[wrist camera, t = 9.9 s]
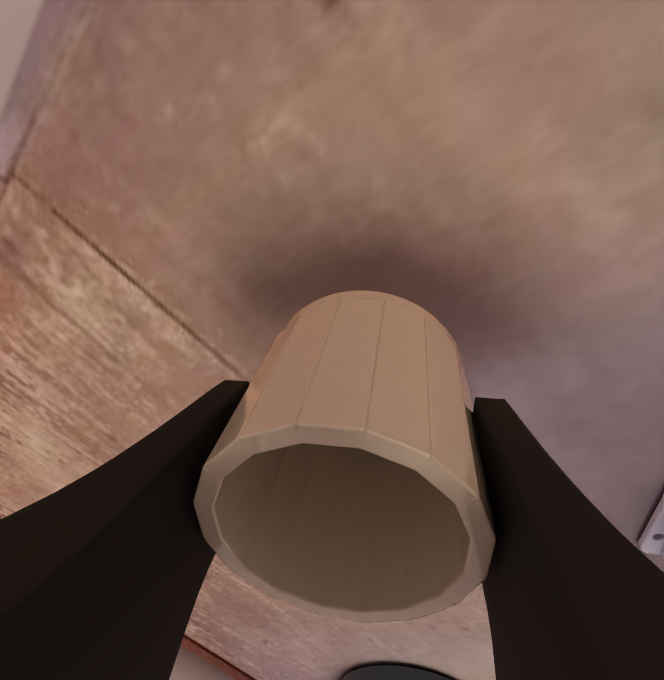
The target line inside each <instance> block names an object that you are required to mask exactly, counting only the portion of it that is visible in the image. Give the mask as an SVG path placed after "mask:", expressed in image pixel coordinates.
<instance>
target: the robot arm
mask: <svg viewBox="0 0 664 680" xmlns="http://www.w3.org/2000/svg"><path fill="white" fill-rule="evenodd" d="M248 387H249V382H247V381H232V380H224V381H223V382H221V383H220V384H218V385H217V386H215V387H214V388H213V389H211V390H210V391H208V392H207V393H206V394H204V395H203V396H202V397H200V398H199V399H197V400H196V401H195V402H193V403H192V404H191V405H189V406H188V407H187V408H185V409H184V410H183V411H181V412H180V413H178V414H177V415H176V416H174V417H173V418H172V419H170V420H169V421H167V422H166V423H165V424H163V425H162V426H160V427H159V428H158V429H156V430H155V431H153V432H152V433H150V434H149V435H147V436H146V437H144V438H143V439H141V440H140V441H138V442H137V443H135V444H134V445H132V446H131V447H129V448H128V449H126V450H125V451H123V452H122V453H120V454H119V455H117V456H116V457H114V458H113V459H111V460H110V461H108V462H107V463H105V464H103V465H102V466H100V467H98V468H97V469H95V470H93V471H92V472H90V473H88V474H87V475H85V476H83V477H81V478H80V479H78V480H76V481H74V482H73V483H71V484H69V485H67V486H65V487H64V488H62V489H60V490H58V491H56V492H55V493H53V494H51V495H49V496H47V497H45V498H43V499H41V500H39V501H37V502H35V503H33V504H31V505H29V506H27V507H25V508H23V509H21V510H19V511H17V512H15V513H13V514H11V515H9V516H7V517H5V518H3V519H1V520H0V680H169V678H170V675H171V672H172V669H173V666H174V663H175V660H176V656H177V654H178V650H179V648H180V645H181V642H182V639H183V636H184V633H185V630H186V627H187V624H188V621H189V619H190V616H191V613H192V610H193V607H194V604H195V601H196V599H197V596H198V593H199V590H200V588H201V585H202V583H203V581H204V578H205V576H206V573H207V571H208V569H209V566H210V564H211V562H212V560H213V558H214V556H215V551H214V550H213V549H212V548H211V547H210V546H209V544H208V543H207V542H206V541H205V538H203V534H202V531H201V528H200V525H199V521H198V518H197V515H196V512H195V508H194V505H193V503H194V502H193V499H194V496H195V492H196V489H197V485H198V482H199V478H200V475H201V471H202V468H203V466H204V464H205V462H206V460H207V459H208V457H209V455H210V453H211V452H212V450H213V448H214V446H215V445H216V443H217V441H218V439H219V438H220V436H221V434H222V432H223V431H224V429H225V427H226V425H227V424H228V422H229V420H230V418H231V417H232V415H233V413H234V411H235V410H236V408H237V406H238V404H239V403H240V401H241V399H242V397H243V396H244V394H245V392H246V390H247V389H248ZM473 416H474V422H475V427H476V432H477V438H478V443H479V448H480V453H481V459H482V464H483V470H484V475H485V480H486V486H487V491H488V497H489V502H490V507H491V513H492V518H493V524H494V529H495V534H496V543H495V547H494V551H493V555H492V559H491V563H490V567H489V571H488V575H487V577H486V578H485V580H484V581H483V582H482V585H483V590H484V595H485V600H486V605H487V610H488V616H489V623H490V629H491V636H492V644H493V654H494V663H495V673H496V680H664V573H663V572H662V571H661V570H660V569H659V568H658V567H657V566H656V565H655V564H654V563H652V562H651V561H650V560H649V559H648V558H647V557H646V556H645V555H644V554H643V553H642V552H641V551H643V552H644V553H648V554H655V555H661V557H662V559H663V560H664V494H663V496H662V498H661V500H660V502H659V504H658V506H657V507H656V509H655V511H654V513H653V515H652V517H651V519H650V521H649V522H648V524H647V526H646V528H645V530H644V532H643V534H642V536H641V537H640V539H639V541H638V545H639V547H640V549H641V551H640V550H638V549H637V548H636V547H635V546H634V545H633V544H632V543H631V542H630V541H629V540H628V539H627V538H626V537H624V536H623V535H622V534H621V533H620V532H619V531H618V530H617V529H616V528H615V527H614V526H613V525H612V524H611V523H610V522H609V521H608V520H607V519H606V518H605V517H604V516H603V515H602V514H601V512H600V511H599V510H598V509H597V508H596V507H595V506H594V505H593V504H592V503H591V502H590V501H589V500H588V499H587V498H586V497H585V496H584V495H583V493H582V492H581V491H580V490H579V489H578V488H577V487H576V486H575V485H574V483H573V482H572V481H571V480H570V479H569V478H568V477H567V475H566V474H565V473H564V472H563V471H562V470H561V468H560V467H559V466H558V465H557V464H556V463H555V462H554V460H553V459H552V458H551V457H550V456H549V454H548V453H547V452H546V451H545V450H544V448H543V447H542V446H541V445H540V444H539V442H538V441H537V440H536V438H535V437H534V436H533V435H532V433H531V432H530V431H529V430H528V428H527V427H526V426H525V425H524V423H523V422H522V421H521V419H520V418H519V417H518V415H517V414H516V413H515V411H514V410H513V409H512V408H511V406H510V405H509V404H508V403H507V402H506V400H505V399H494V398H479V397H475V403H474V409H473Z"/></svg>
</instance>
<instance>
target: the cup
mask: <svg viewBox="0 0 664 680" xmlns="http://www.w3.org/2000/svg"><path fill="white" fill-rule="evenodd" d="M193 502H194V503H193V505H194V508H195V512H196V515H197V518H198V521H199V525H200V528H201V531H202V534H203V538H205V541H206V542H207V543H208V544H209V546H210V547H211V548H212V549H213V550H214V551H215V553H216V554H217V555H218V556H219V557H220V558H221V560H222V561H223V562H224V563H225V564H226V565H227V567H228V568H229V569H230V570H232V571H233V573H235V574H236V575H238V576H239V577H241V578H242V579H244V580H245V581H247V582H248V583H250V584H251V585H253V586H254V587H256V588H258V589H259V590H261V591H262V592H264V593H265V594H267V595H268V596H271V597H272V598H274V599H277V600H280V601H282V602H285V603H288V604H290V605H293V606H295V607H298V608H301V609H303V610H306V611H309V612H311V613H314V614H316V613H317V614H318V615H323V616H329V617H335V618H341V619H348V620H354V621H360V622H365V621H366V622H381V621H399V620H412V619H418V618H420V617H423V616H426V615H429V614H432V613H435V612H438V611H441V610H444V609H446V608H449V607H452V606H455V605H456V604H458V603H459V602H461V601H462V600H463V599H464V598H465V597H466V596H467V595H468V594H469V593H470V592H472V591H473V590H474V589H475V588H476V587H477V586H478V585H479V584H480V583H482V582H483V581H484V580H485V578H486V577H487V575H488V571H489V567H490V563H491V559H492V555H493V551H494V547H495V543H496V534H495V529H494V524H493V518H492V513H491V507H490V502H489V497H488V491H487V486H486V480H485V475H484V470H483V464H482V459H481V453H480V448H479V443H478V438H477V432H476V427H475V422H474V416H473V410H472V405H471V399H470V394H469V389H468V383H467V378H466V375H465V372H464V369H463V365H462V360H461V357H460V353H459V350H458V348H457V346H456V344H455V342H454V340H453V338H452V337H451V335H450V334H449V332H448V331H447V330H446V328H445V327H444V326H443V325H442V324H441V323H440V322H439V321H438V320H437V319H436V318H435V317H434V316H432V315H431V314H430V313H429V312H427V311H426V310H424V309H423V308H421V307H420V306H418V305H416V304H414V303H412V302H410V301H408V300H406V299H403V298H400V297H398V296H395V295H392V294H387V293H382V292H376V291H365V290H364V291H347V292H341V293H336V294H332V295H329V296H326V297H323V298H321V299H319V300H316V301H314V302H312V303H311V304H309V305H307V306H306V307H304V308H303V309H301V310H300V311H299V312H298V313H297V314H295V315H294V316H293V317H292V319H291V320H290V321H289V322H288V323H287V324H286V326H285V328H284V329H283V331H282V332H281V333H280V334H279V335H278V336H277V338H276V340H275V341H274V343H273V345H272V347H271V348H270V350H269V352H268V354H267V355H266V357H265V359H264V361H263V362H262V364H261V366H260V368H259V369H258V371H257V373H256V375H255V376H254V378H253V380H252V382H251V383H250V385H249V387H248V389H247V390H246V392H245V394H244V396H243V397H242V399H241V401H240V403H239V404H238V406H237V408H236V410H235V411H234V413H233V415H232V417H231V418H230V420H229V422H228V424H227V425H226V427H225V429H224V431H223V432H222V434H221V436H220V438H219V439H218V441H217V443H216V445H215V446H214V448H213V450H212V452H211V453H210V455H209V457H208V459H207V460H206V462H205V464H204V466H203V468H202V471H201V475H200V478H199V482H198V485H197V489H196V492H195V496H194V499H193Z"/></svg>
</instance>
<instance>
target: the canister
mask: <svg viewBox="0 0 664 680" xmlns="http://www.w3.org/2000/svg"><path fill="white" fill-rule="evenodd" d="M341 680H451V679H448V678H446V677H444V676H441V675H438V674H436V673H433V672H429V671H426V670H422V669H417V668H412V667H406V666H396V665H375V666H367V667H362V668H359V669H356V670H353V671H351V672H349V673H348V674H346V675H345V676H344V677H343V678H342V679H341Z"/></svg>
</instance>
